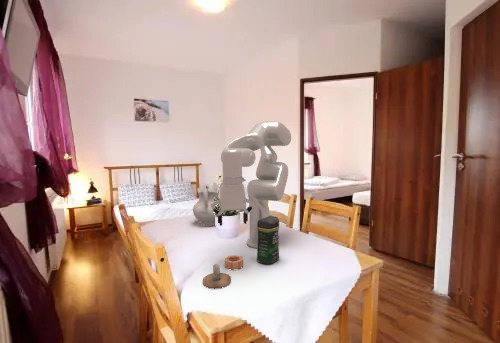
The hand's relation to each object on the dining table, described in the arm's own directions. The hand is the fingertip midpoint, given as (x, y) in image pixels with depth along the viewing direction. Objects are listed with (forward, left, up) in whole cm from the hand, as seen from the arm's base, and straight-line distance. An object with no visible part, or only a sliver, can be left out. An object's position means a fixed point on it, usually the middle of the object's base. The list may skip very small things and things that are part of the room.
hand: (232, 223), depth 112 cm
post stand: (+8, +11, -18) cm, 22 cm away
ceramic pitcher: (+5, -60, -18) cm, 63 cm away
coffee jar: (-15, -2, -18) cm, 23 cm away
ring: (0, 0, -18) cm, 18 cm away
